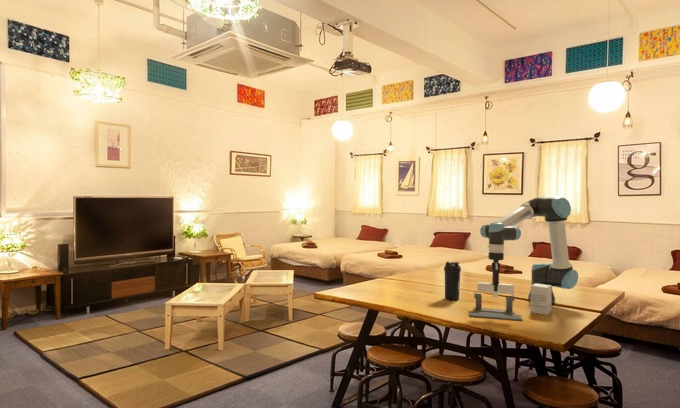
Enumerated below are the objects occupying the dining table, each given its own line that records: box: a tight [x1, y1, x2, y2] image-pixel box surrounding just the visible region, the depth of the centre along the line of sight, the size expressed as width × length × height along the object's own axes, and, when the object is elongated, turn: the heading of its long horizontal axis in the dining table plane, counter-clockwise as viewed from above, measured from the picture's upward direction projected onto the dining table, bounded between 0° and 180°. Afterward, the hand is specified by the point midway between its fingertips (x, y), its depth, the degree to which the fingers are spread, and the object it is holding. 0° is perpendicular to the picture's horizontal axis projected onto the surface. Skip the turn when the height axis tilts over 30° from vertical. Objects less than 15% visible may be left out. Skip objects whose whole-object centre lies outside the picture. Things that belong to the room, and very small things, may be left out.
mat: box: [468, 310, 524, 322], centre depth 233 cm, size 26×9×1 cm, turn 74°
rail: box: [476, 281, 515, 295], centre depth 232 cm, size 18×4×4 cm, turn 74°
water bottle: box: [443, 261, 462, 302], centre depth 272 cm, size 10×10×23 cm
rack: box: [473, 291, 515, 315], centre depth 244 cm, size 21×6×10 cm, turn 74°
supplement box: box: [529, 283, 553, 316], centre depth 243 cm, size 9×9×15 cm
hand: (495, 296), depth 233 cm, fingers closed on rail, 3 cm apart
